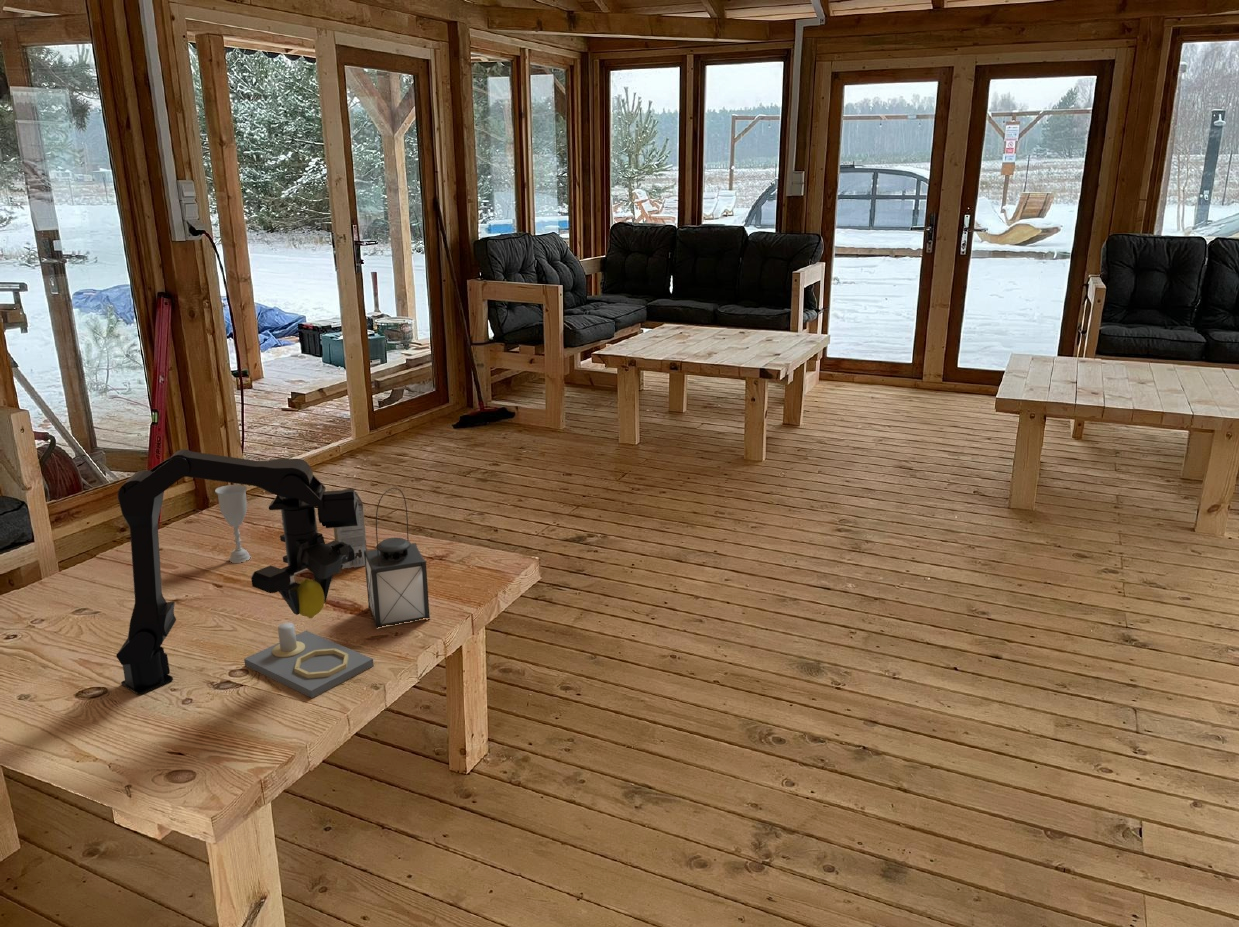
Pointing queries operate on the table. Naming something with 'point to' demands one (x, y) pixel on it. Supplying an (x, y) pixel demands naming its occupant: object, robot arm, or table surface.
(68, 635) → the table surface
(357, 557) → the coffee box
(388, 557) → the lantern
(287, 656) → the board
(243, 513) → the chalice
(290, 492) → the robot arm
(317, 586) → the lemon
